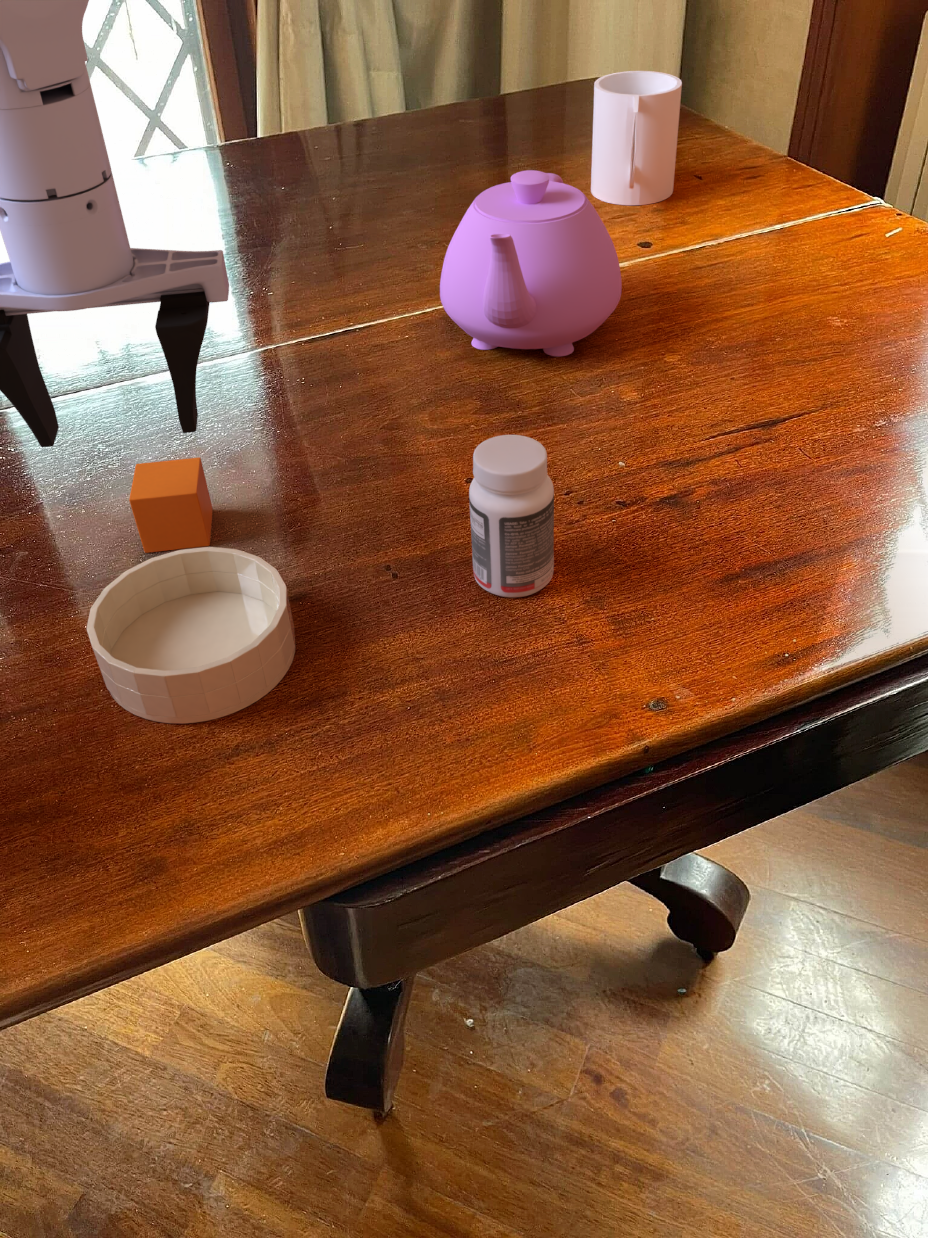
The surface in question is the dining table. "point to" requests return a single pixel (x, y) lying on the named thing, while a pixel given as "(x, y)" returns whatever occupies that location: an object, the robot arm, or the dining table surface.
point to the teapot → (530, 267)
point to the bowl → (193, 634)
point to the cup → (635, 137)
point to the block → (171, 505)
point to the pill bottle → (511, 516)
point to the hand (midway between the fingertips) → (120, 430)
